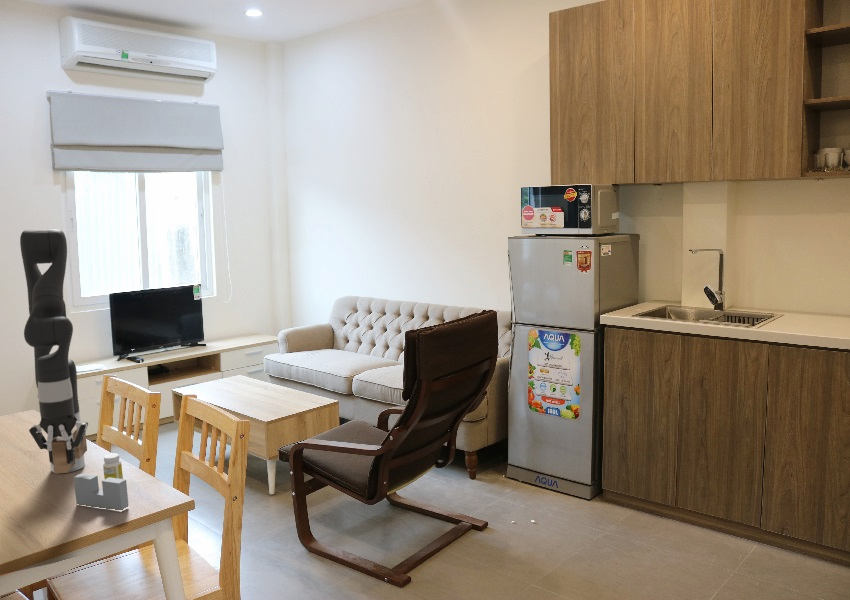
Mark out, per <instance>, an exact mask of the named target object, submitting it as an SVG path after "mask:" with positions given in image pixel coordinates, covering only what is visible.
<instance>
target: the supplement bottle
mask: <svg viewBox="0 0 850 600" xmlns="http://www.w3.org/2000/svg"><path fill="white" fill-rule="evenodd" d="M102 467H103V475H104V476H103V477H104V480H105V479H107V478H109V477H111V478H118V479H124V475H123V466H122V461H121V460H120V454H118V453H116V452H113V453H108V454H106V455H104V456H103V464H102Z"/></svg>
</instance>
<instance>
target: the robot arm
mask: <svg viewBox="0 0 850 600" xmlns="http://www.w3.org/2000/svg"><path fill="white" fill-rule="evenodd" d="M19 237H20V238H19V241H20V242H19V245H20V252H21V260H22V264H23V270H24V274H25V280H26V288H27V301H28V314H29V317H28V319H27V320H26V323H25V325H24V331H23V336H24V337H23V338H24V341H25V343H26V344H27V345H28V346H30V347H31V348H33V353H34V375H35V378H34V379H35V384H36V388H37V399H38V405H39V413H40V414H39V415H40V421H39V424H37V425H36V424H35V425H33V426H31V428H29V429H28V431H29V433H30V435H31V436H32V438H33V440H34V441H35V443H36V445H37V446H38V448H39V449H40V450H47V451H48V458H49V463H50V470H51V471H50V472H51V473H54V465H53V455H52V446H51V443H52V442H53V441H54V440H55V439H56V438H57V437H58V436H59V437H62V438H63V441H65V445H66V448H67V450H66V453H67V462H68V464H71V463H72V462H73V460H74V459H75V449H74V447H77V446H79V445H80V444H81V442H82V440H83V437H84V435H85V433H86V432H87V429H88V426H89V423H88V422H87V421H81V413H80V403H79V396H78V394H79V393H78V375H77V374H78V372H77V366H76V363H75V362H74V360H72V359H69V352H70V346H71V343H72V339H73V338H72V337H73V333H74V327H73V323H72V321H71V320H70V319H69V318H68V317H67V307H66V302H65V300H64V281H65V275H66V269H67V259H68V244H67V242H68V241H67V238H66V235H65V233H64V231H63V230H62V229H55V228H52V229H50V228H49V229H48V228H47V229H45V228H44V229H43V228H42V229H26V230H23V231H22V232H21V234H20V236H19ZM38 264H39V265H40V264H51V265H50V266H49V267H48V268H47V270H46V271H45V272H44V273H43V274H42V273H41V270H40V268H39V265H38ZM55 346H58V348H57V350H56V351H54V352H52V353H51V351H52V349H53V348H54V347H55ZM82 422H84V423H82ZM74 426H76V427H77V431H78V434H77V437H76V439H75V441H74V440H73V434H72V429H73V428H74ZM43 431H44V432H45V433H46V434H47V437H45V435H43ZM85 466H86V464H85V453H84V454H83V456H82V457H81V458H80V459H75V465H74V466H73V467H72V468H71V469H70V470H69V471H68V472H67V473H66V474H68V473H72V472H76V471H78V470H81V469H82V468H84V467H85Z"/></svg>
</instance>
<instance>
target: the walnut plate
mask: <svg viewBox="0 0 850 600" xmlns="http://www.w3.org/2000/svg"><path fill="white" fill-rule="evenodd" d="M81 422H82V423H84V422H85V421H81ZM72 434H73V440H74V441H75V439H76V437H77V434H78V431H77V427H76V426H74V428H73V429H72ZM51 446H52V455H53V465H54V472H53V473H54V475H56V474H68V473H69V472H68V471H69V470H70V469H71V468H72V467H73V466H74V465H75V459H80V458H81V457H82V456H83V454H84V455H85V454H86V453H87V451H88V445H87V435H86V432H85V435H84V437H83V440H82V442H81V444H80V445H79V446H77V447H74V449H75V459H74V460H73V462H72V463H71V464H68V462H67V453H66V450H67V448H66V445H65V441H63V438H62V437H59V436H58V437H57V438H56V439H55V440H54V441H53V442H52V443H51ZM67 472H68V473H67Z"/></svg>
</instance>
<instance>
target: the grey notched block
mask: <svg viewBox="0 0 850 600" xmlns="http://www.w3.org/2000/svg"><path fill="white" fill-rule="evenodd" d="M73 483H74V493H75V503H76V505H77V504H79V505H86V506H91V507H99V508H106V509H115V510H123V509H124V508H126V507H128V506H129V497H128V496H129V495H128V487H127V486H128V485H127V484H128V483H127V479H125V478H123V479H118V478H111V477H109V478H107V479H105V478H104V479H103V480H101V485H102V489H100V488H99V486H100V485H99V476H98V475H96V474H88V473H80V474H79V473H78V474H77V475H75V476H73Z"/></svg>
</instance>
